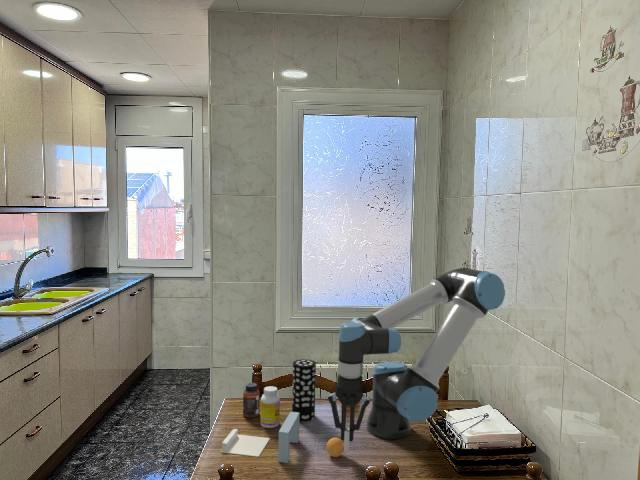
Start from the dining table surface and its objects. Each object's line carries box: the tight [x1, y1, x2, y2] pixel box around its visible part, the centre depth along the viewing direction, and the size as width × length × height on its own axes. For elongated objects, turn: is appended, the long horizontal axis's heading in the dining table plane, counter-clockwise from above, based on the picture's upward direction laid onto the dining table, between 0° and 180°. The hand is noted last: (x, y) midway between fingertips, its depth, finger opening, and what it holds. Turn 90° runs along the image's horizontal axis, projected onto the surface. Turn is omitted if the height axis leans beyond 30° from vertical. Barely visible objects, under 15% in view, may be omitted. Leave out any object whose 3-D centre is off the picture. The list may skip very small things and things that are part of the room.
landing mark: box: [220, 433, 271, 458], centre depth 151 cm, size 12×12×1 cm
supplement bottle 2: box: [259, 385, 281, 429], centre depth 165 cm, size 7×7×13 cm
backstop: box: [221, 428, 239, 451], centre depth 151 cm, size 2×10×2 cm, turn 170°
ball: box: [326, 437, 344, 458], centre depth 145 cm, size 6×6×6 cm
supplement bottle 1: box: [242, 382, 260, 419], centre depth 173 cm, size 6×6×11 cm
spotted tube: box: [291, 358, 317, 422], centre depth 172 cm, size 8×8×20 cm
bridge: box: [277, 411, 300, 463], centre depth 148 cm, size 3×14×9 cm, turn 169°
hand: (346, 450), depth 144 cm, fingers closed
